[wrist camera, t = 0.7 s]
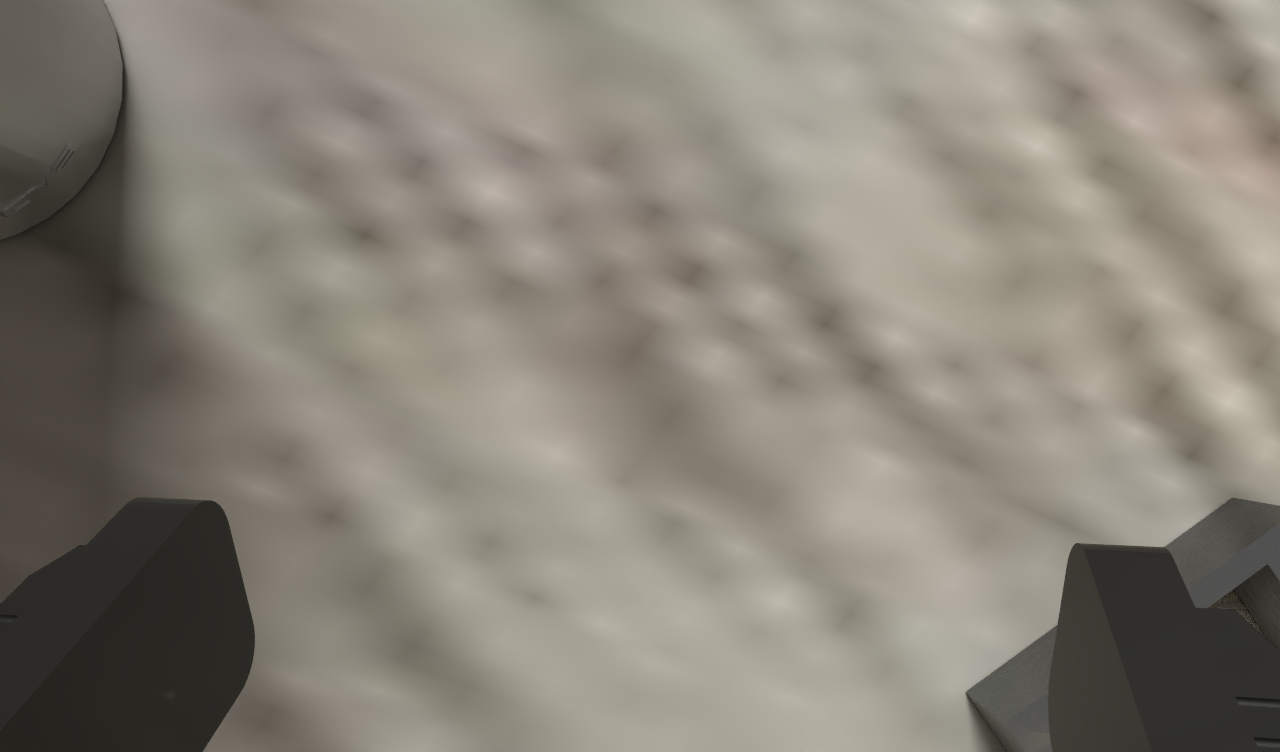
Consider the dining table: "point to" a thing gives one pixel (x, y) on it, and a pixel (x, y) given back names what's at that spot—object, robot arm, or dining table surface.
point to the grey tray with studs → (1210, 567)
